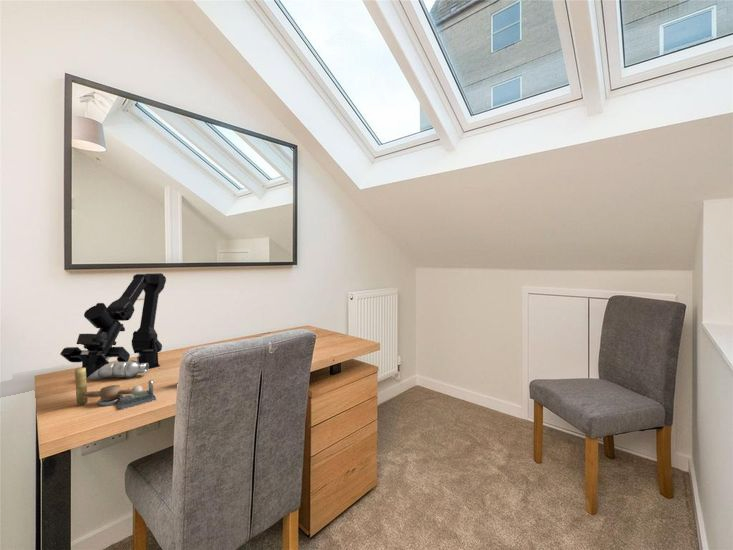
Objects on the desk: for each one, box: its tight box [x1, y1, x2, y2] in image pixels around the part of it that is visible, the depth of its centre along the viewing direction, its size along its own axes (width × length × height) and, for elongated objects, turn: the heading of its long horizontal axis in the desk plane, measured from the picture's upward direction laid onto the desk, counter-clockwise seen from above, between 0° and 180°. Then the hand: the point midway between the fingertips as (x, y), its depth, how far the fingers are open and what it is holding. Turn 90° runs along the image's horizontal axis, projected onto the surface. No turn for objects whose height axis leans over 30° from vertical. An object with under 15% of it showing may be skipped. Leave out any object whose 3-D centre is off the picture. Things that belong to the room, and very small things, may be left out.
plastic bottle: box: [86, 359, 150, 381], centre depth 128 cm, size 6×7×20 cm
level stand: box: [97, 380, 157, 410], centre depth 107 cm, size 14×12×5 cm
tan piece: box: [74, 367, 144, 405], centre depth 106 cm, size 18×5×11 cm, turn 100°
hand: (82, 379), depth 106 cm, fingers closed, pressing on tan piece
